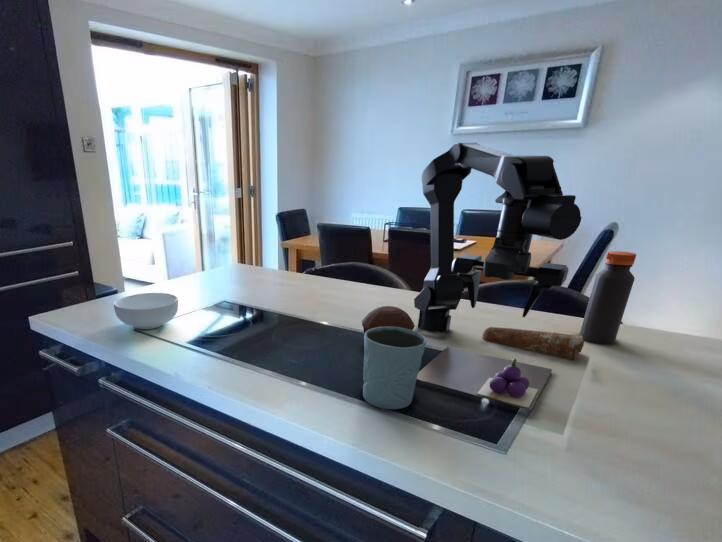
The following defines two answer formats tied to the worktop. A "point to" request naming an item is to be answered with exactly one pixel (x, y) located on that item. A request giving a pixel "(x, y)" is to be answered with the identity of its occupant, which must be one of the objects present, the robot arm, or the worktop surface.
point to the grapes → (510, 381)
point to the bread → (537, 341)
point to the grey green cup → (391, 366)
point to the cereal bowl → (146, 309)
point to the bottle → (608, 298)
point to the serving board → (481, 376)
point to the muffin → (387, 318)
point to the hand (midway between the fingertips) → (497, 311)
